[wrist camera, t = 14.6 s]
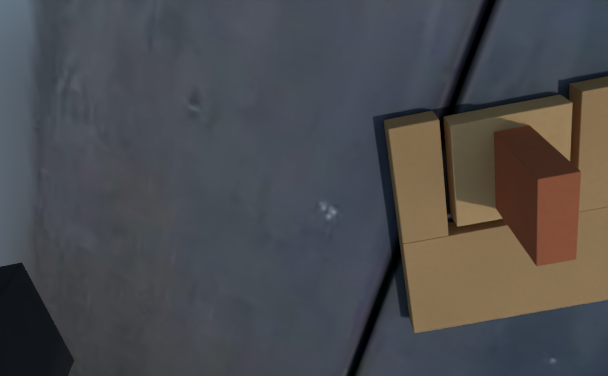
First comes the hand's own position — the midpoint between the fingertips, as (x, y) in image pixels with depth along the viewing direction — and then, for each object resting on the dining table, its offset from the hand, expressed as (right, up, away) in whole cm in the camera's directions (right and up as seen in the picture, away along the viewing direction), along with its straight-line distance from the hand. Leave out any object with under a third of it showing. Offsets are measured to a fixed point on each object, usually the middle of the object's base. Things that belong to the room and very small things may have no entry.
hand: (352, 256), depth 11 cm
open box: (+13, +4, +28) cm, 31 cm away
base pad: (+14, 0, +30) cm, 33 cm away
